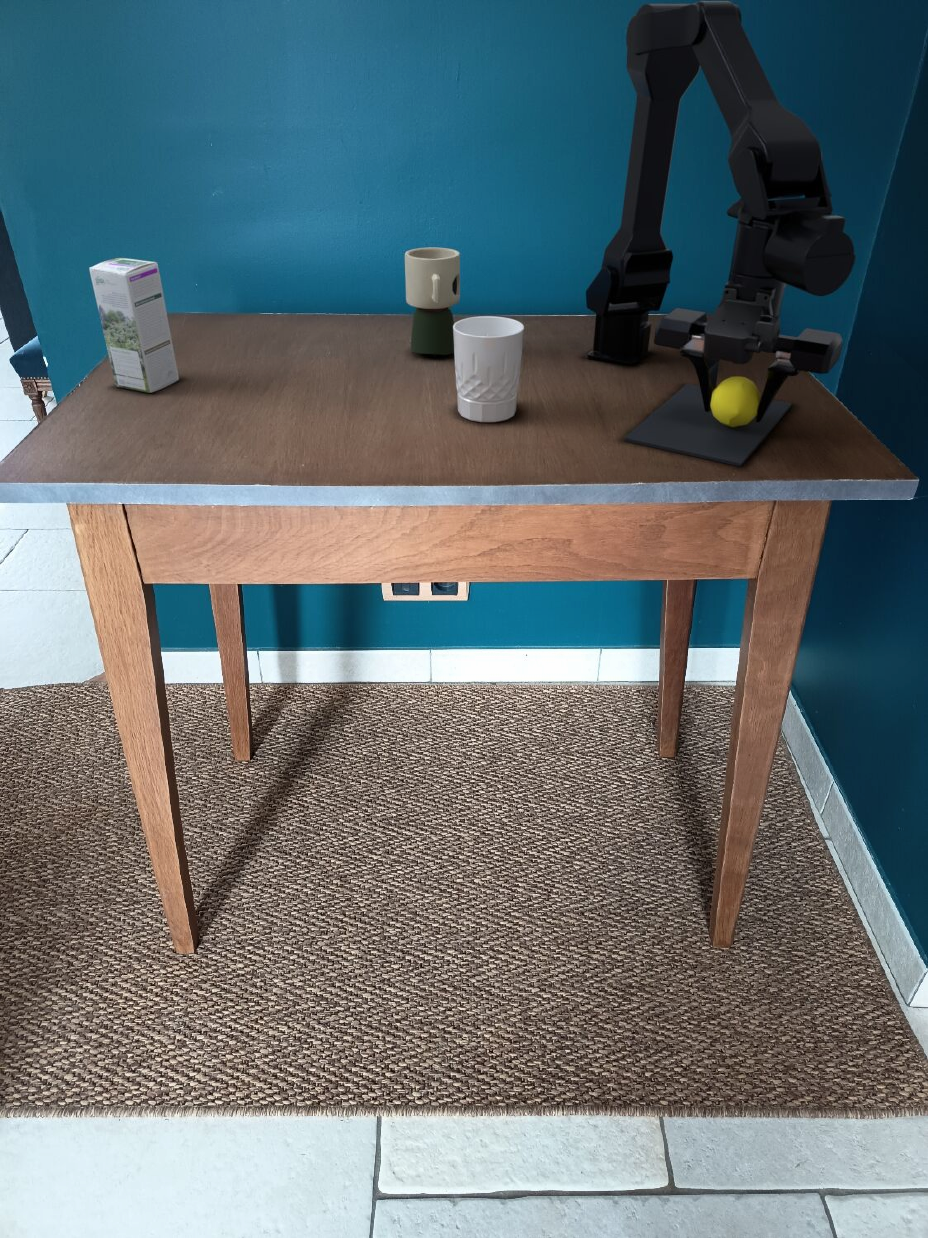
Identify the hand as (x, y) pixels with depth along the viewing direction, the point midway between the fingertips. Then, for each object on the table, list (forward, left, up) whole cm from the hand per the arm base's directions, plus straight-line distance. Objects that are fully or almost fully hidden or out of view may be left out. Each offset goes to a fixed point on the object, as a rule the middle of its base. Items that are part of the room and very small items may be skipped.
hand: (732, 415), depth 103 cm
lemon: (0, 0, -1) cm, 1 cm away
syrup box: (-67, -24, -2) cm, 71 cm away
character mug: (-43, +5, -2) cm, 43 cm away
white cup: (-26, -10, -2) cm, 28 cm away
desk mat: (-2, 0, -2) cm, 3 cm away
